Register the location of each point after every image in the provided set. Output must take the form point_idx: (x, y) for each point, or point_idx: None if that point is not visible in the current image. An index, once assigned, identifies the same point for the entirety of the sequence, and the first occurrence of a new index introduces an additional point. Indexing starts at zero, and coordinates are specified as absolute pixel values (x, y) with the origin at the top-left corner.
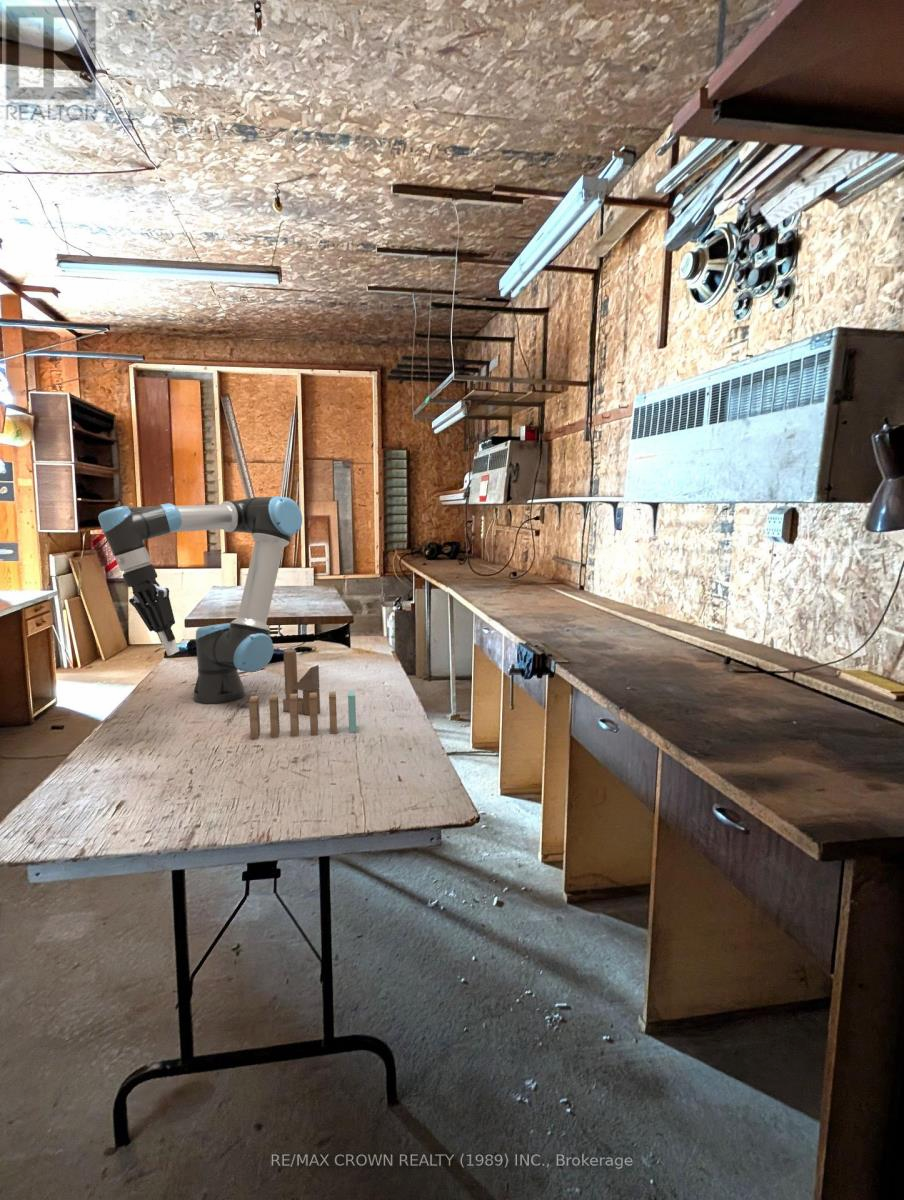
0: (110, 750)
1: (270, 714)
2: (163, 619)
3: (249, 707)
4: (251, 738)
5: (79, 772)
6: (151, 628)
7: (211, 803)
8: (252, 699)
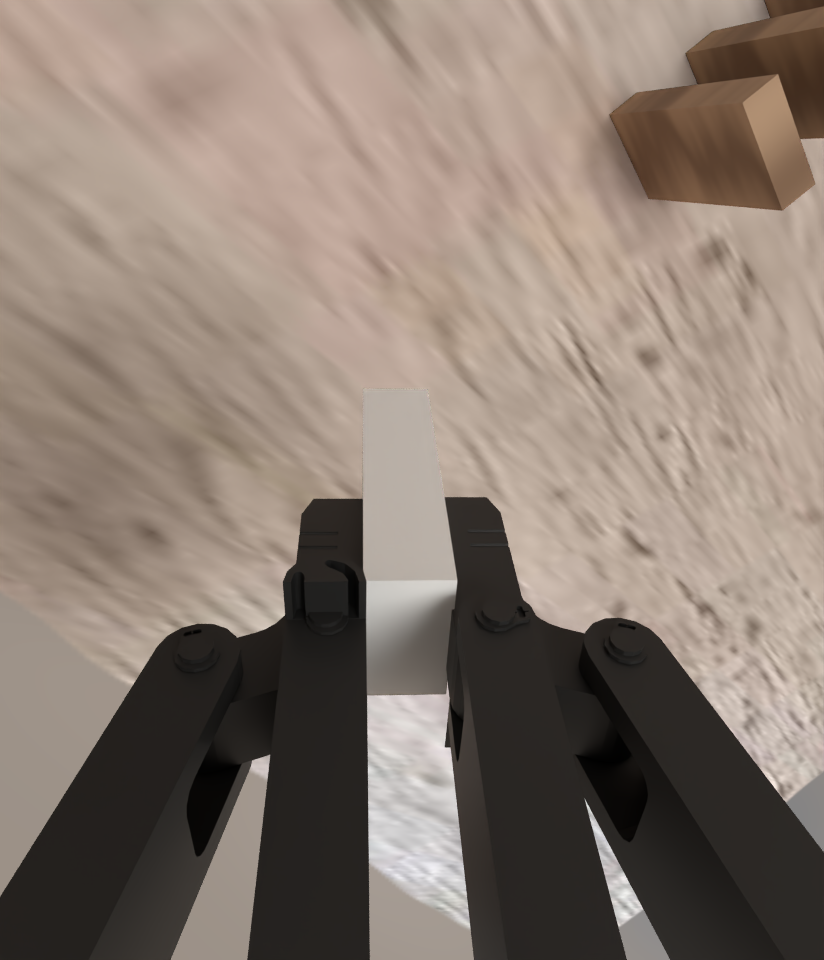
0: (188, 593)
1: (810, 136)
2: (618, 840)
3: (758, 207)
4: (652, 196)
5: None
6: (247, 762)
7: (805, 632)
8: (782, 164)
